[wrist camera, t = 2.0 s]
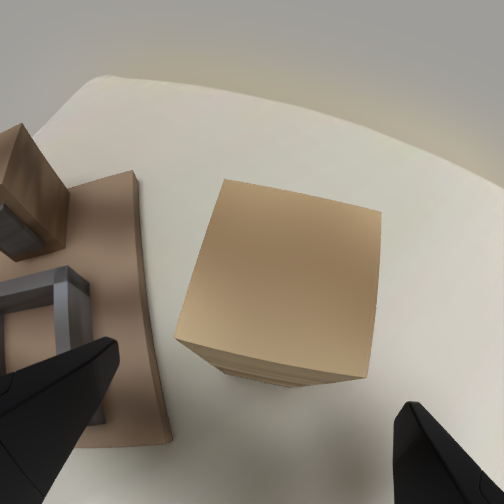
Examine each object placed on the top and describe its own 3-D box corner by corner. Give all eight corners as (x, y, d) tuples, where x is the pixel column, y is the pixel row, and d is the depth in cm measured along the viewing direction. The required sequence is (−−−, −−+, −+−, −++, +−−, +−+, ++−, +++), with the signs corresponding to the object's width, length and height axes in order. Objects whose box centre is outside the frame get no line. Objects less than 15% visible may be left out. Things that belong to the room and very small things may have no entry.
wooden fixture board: (172, 440, 16) (106, 475, 7) (-9, 438, 14) (-98, 432, 6) (138, 181, 24) (98, 88, 15) (-9, 227, 22) (-68, 170, 14)
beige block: (290, 387, 18) (366, 378, 6) (224, 373, 18) (173, 337, 6) (305, 315, 19) (381, 193, 8) (242, 302, 20) (230, 161, 8)
